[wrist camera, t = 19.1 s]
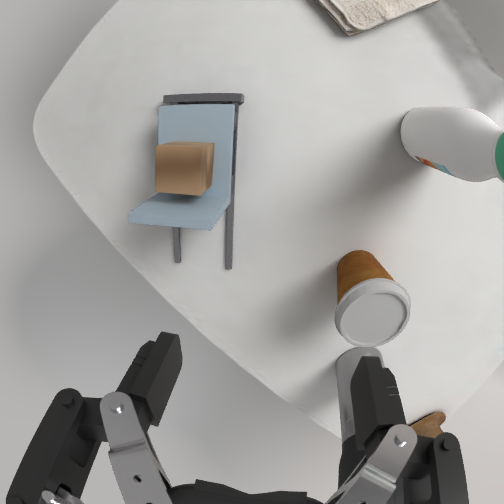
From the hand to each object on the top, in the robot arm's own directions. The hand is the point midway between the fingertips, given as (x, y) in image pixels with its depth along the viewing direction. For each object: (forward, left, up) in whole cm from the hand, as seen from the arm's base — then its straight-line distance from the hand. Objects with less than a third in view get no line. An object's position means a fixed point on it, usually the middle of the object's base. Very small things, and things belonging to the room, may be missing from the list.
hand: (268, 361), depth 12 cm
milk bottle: (+11, -18, -28) cm, 35 cm away
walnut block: (+4, +11, -24) cm, 26 cm away
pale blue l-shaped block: (+5, +11, -28) cm, 31 cm away
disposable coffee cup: (-10, -12, -28) cm, 32 cm away
